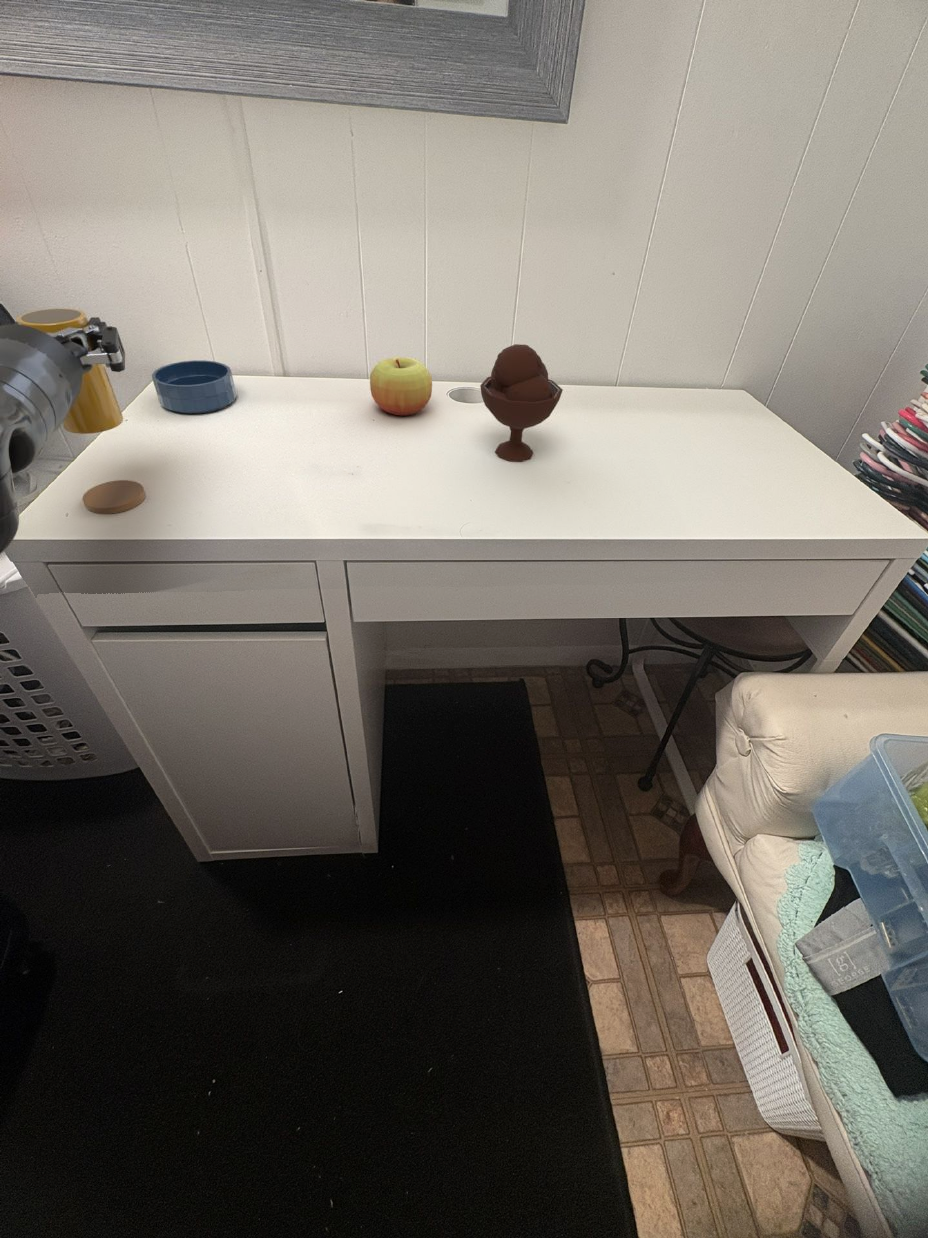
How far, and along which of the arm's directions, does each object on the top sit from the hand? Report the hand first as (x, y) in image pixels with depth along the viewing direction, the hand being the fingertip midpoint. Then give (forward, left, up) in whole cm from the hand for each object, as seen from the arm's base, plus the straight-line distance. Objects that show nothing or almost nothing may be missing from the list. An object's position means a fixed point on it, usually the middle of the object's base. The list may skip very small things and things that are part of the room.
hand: (64, 328), depth 60 cm
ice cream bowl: (+51, -10, -18) cm, 55 cm away
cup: (0, -2, -9) cm, 10 cm away
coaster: (-1, -4, -18) cm, 18 cm away
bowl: (+11, +23, -18) cm, 32 cm away
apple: (+41, +10, -18) cm, 46 cm away
